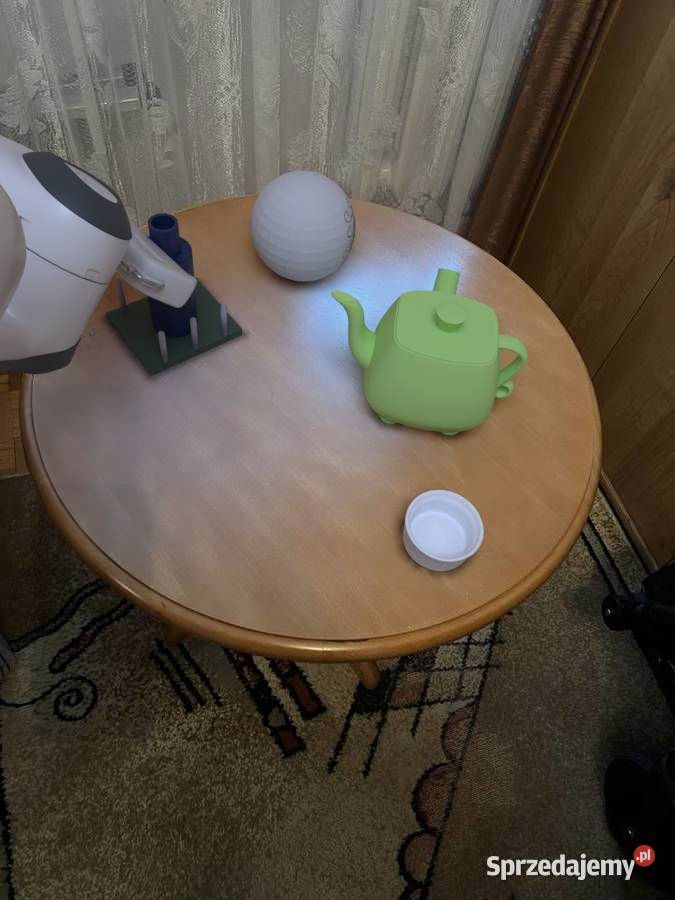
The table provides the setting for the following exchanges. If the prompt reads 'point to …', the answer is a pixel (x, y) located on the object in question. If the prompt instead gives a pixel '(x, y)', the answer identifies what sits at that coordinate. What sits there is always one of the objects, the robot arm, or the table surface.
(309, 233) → the decorative object
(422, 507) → the ramekin
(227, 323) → the rack
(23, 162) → the robot arm
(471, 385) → the teapot
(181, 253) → the bottle
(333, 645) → the table surface
